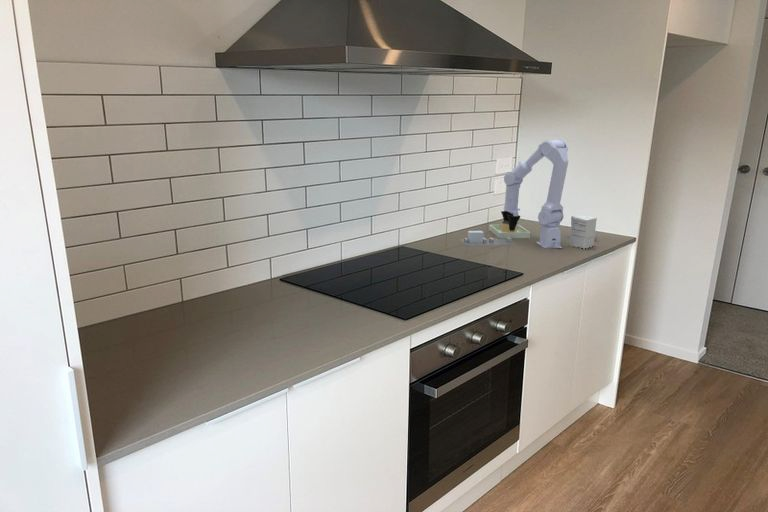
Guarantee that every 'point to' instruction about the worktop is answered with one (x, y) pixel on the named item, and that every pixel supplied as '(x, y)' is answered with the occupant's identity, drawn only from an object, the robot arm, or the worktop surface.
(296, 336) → the worktop surface
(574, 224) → the supplement box
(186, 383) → the worktop surface
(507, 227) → the block
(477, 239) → the fuse
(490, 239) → the fuse board
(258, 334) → the worktop surface
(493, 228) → the parts tray
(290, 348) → the worktop surface
